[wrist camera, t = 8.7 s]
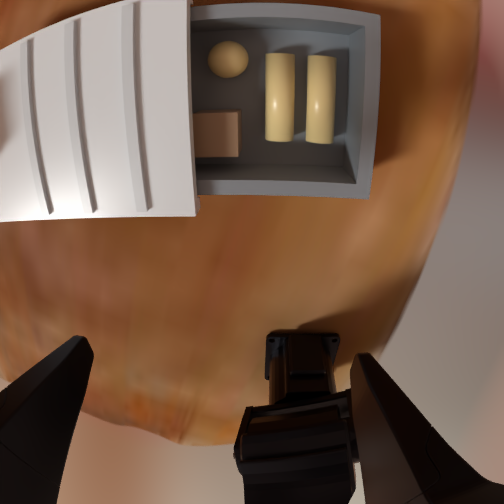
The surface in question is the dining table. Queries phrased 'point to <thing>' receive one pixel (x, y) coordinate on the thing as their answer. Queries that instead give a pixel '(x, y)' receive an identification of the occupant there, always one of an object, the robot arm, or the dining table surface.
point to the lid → (100, 116)
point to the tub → (284, 99)
